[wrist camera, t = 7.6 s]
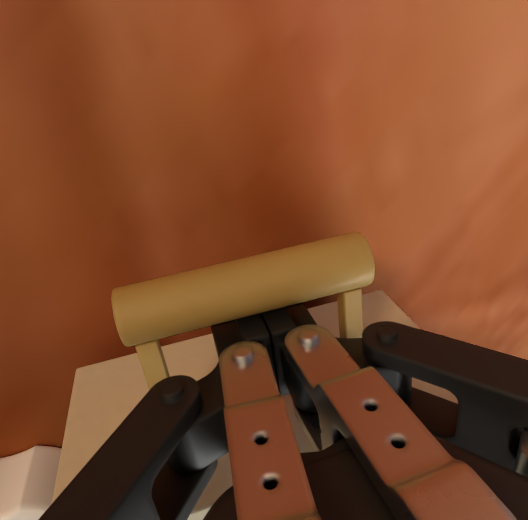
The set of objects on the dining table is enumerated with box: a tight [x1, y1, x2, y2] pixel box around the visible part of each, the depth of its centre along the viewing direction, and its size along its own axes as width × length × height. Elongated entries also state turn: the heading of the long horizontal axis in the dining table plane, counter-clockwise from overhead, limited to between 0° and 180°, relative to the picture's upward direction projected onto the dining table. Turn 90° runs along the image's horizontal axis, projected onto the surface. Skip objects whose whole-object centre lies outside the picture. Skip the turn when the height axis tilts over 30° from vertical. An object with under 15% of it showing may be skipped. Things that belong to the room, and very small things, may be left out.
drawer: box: [52, 232, 458, 520], centre depth 19 cm, size 23×14×8 cm, turn 8°
